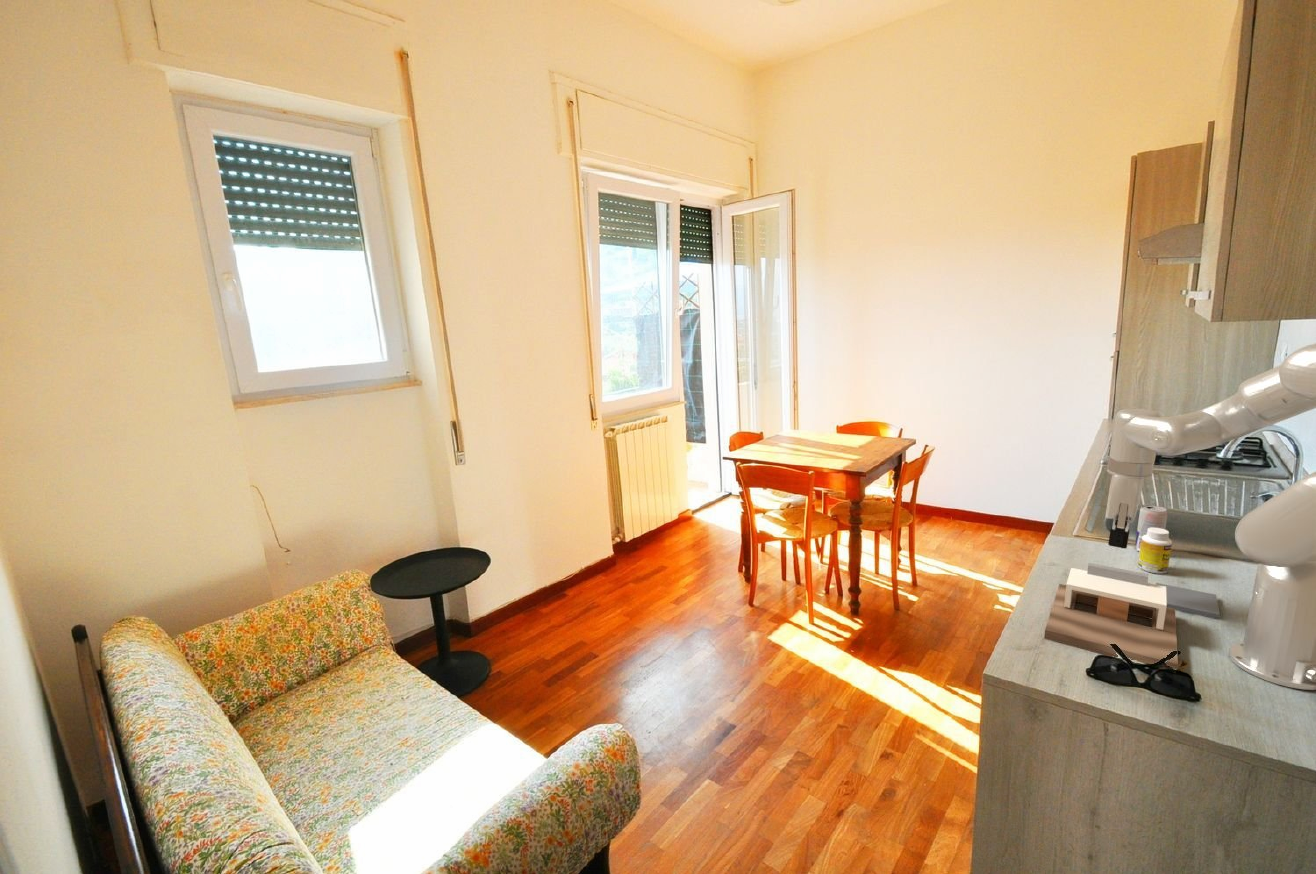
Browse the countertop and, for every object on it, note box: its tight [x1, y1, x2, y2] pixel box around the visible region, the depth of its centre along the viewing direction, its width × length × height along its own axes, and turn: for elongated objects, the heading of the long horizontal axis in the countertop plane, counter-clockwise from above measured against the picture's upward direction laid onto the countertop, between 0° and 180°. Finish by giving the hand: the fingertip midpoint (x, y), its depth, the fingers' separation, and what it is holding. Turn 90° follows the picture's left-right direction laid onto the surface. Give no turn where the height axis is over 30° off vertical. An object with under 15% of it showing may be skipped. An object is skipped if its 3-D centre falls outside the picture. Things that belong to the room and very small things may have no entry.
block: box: [1096, 596, 1129, 622], centre depth 121 cm, size 5×5×6 cm
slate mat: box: [1155, 582, 1221, 620], centre depth 126 cm, size 10×10×1 cm
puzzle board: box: [1043, 583, 1179, 670], centre depth 118 cm, size 23×20×2 cm
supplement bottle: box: [1137, 528, 1173, 574], centre depth 139 cm, size 6×6×10 cm
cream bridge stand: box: [1064, 562, 1167, 630], centre depth 120 cm, size 9×16×7 cm, turn 50°
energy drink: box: [1134, 504, 1168, 553], centre depth 148 cm, size 5×5×12 cm
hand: (1117, 545), depth 127 cm, fingers closed
